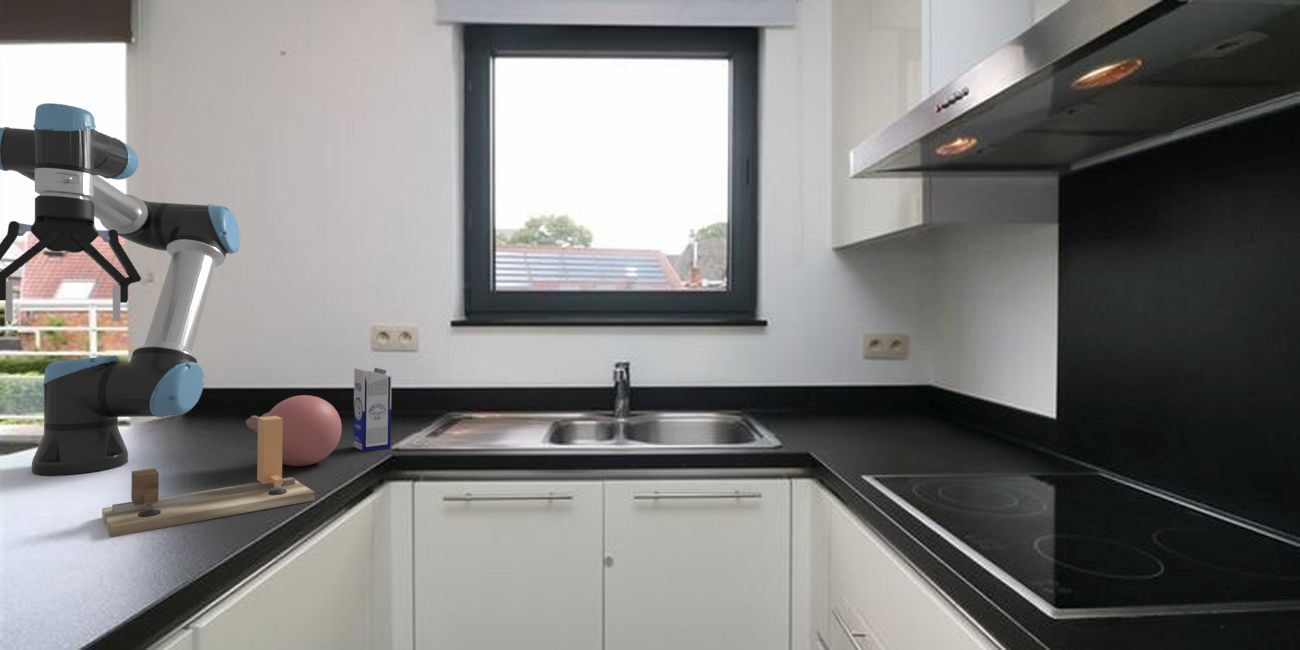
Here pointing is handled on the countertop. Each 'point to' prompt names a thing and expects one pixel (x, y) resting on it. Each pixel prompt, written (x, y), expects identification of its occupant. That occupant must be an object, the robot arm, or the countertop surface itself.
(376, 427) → the milk carton
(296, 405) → the balloon
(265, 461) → the orange wooden block
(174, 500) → the wooden slotted board
